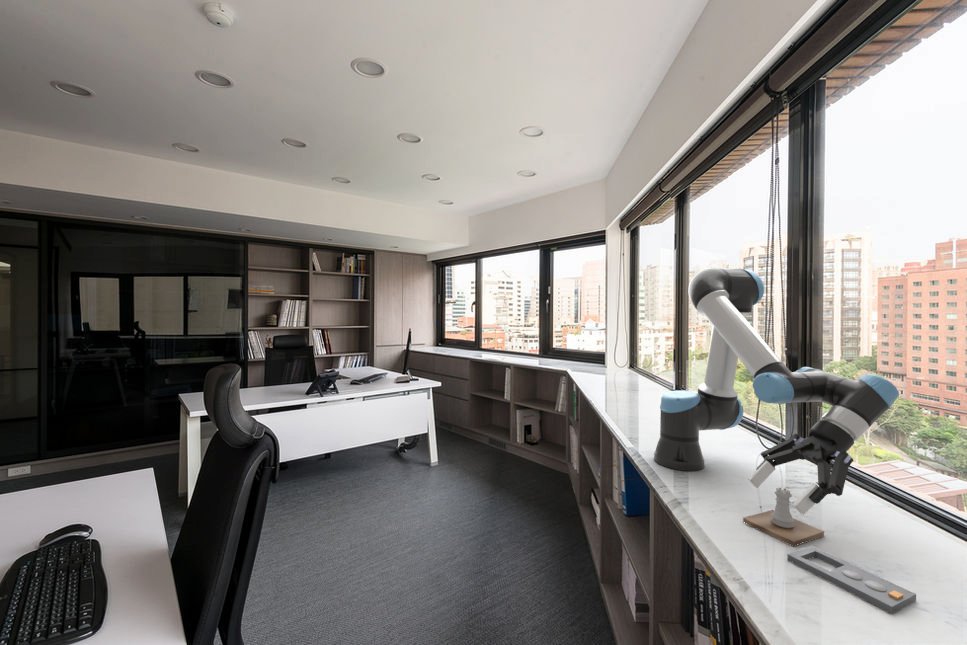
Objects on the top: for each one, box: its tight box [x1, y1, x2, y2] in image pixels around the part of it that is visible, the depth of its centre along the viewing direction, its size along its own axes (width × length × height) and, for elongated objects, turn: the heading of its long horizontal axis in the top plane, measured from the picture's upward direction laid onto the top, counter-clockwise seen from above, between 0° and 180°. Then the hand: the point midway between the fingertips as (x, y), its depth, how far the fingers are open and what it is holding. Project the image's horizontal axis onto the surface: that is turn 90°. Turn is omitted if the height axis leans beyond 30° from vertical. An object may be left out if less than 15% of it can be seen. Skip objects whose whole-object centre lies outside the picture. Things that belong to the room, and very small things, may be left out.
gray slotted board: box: [786, 545, 917, 615], centre depth 76 cm, size 16×8×2 cm, turn 23°
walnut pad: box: [742, 509, 825, 547], centre depth 94 cm, size 11×11×1 cm
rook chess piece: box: [771, 487, 795, 529], centre depth 94 cm, size 4×4×8 cm
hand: (773, 495), depth 94 cm, fingers open, 13 cm apart
